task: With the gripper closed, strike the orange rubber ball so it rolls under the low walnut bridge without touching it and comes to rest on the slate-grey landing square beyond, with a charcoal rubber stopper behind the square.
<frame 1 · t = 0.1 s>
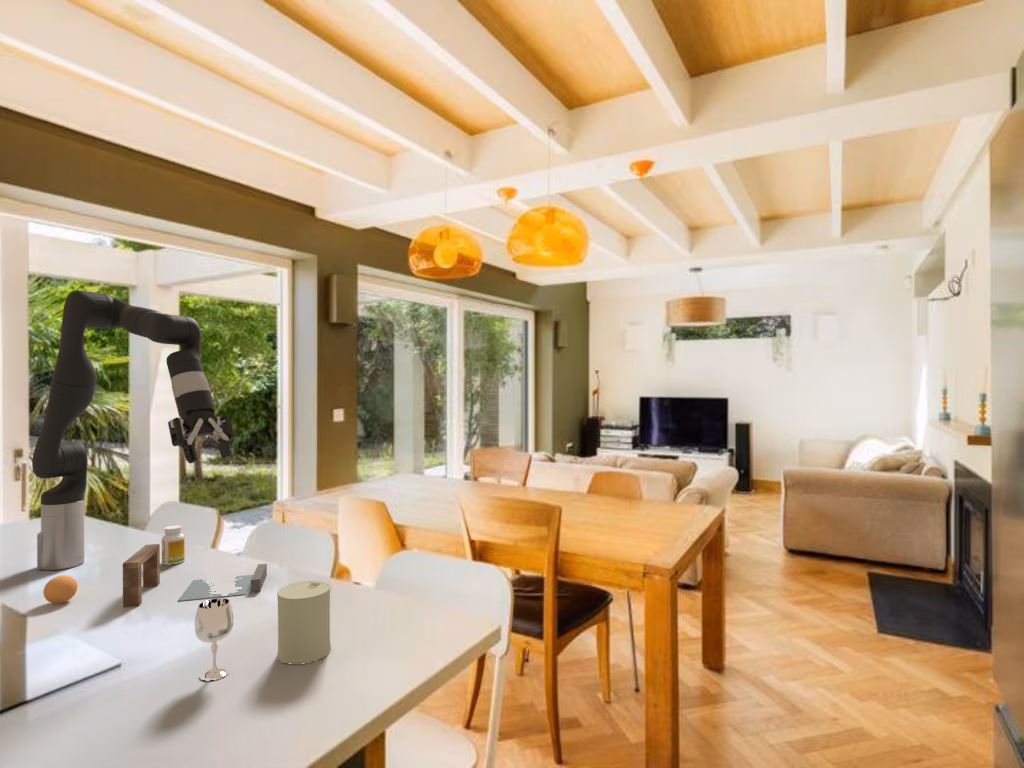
hand: (210, 459, 131), 31 cm above the table, tool tilted 20°, fingers open, 8 cm apart
supplement bottle: (173, 563, 156), on the table
can: (304, 653, 103), on the table
bridge: (142, 594, 132), on the table
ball: (60, 589, 127), on the table
stopper: (259, 583, 139), on the table
wineglass: (214, 675, 95), on the table
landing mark: (218, 587, 136), on the table
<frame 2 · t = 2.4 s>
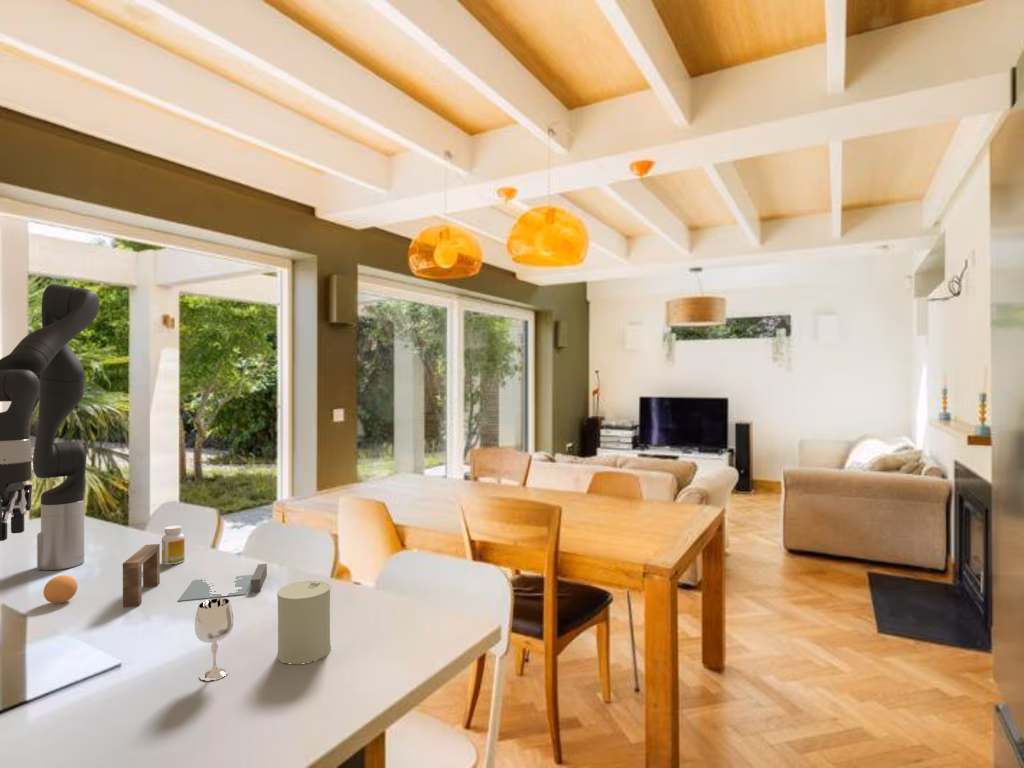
hand: (9, 536, 124), 16 cm above the table, tool pointing down, fingers open, 6 cm apart
nothing on the table moved.
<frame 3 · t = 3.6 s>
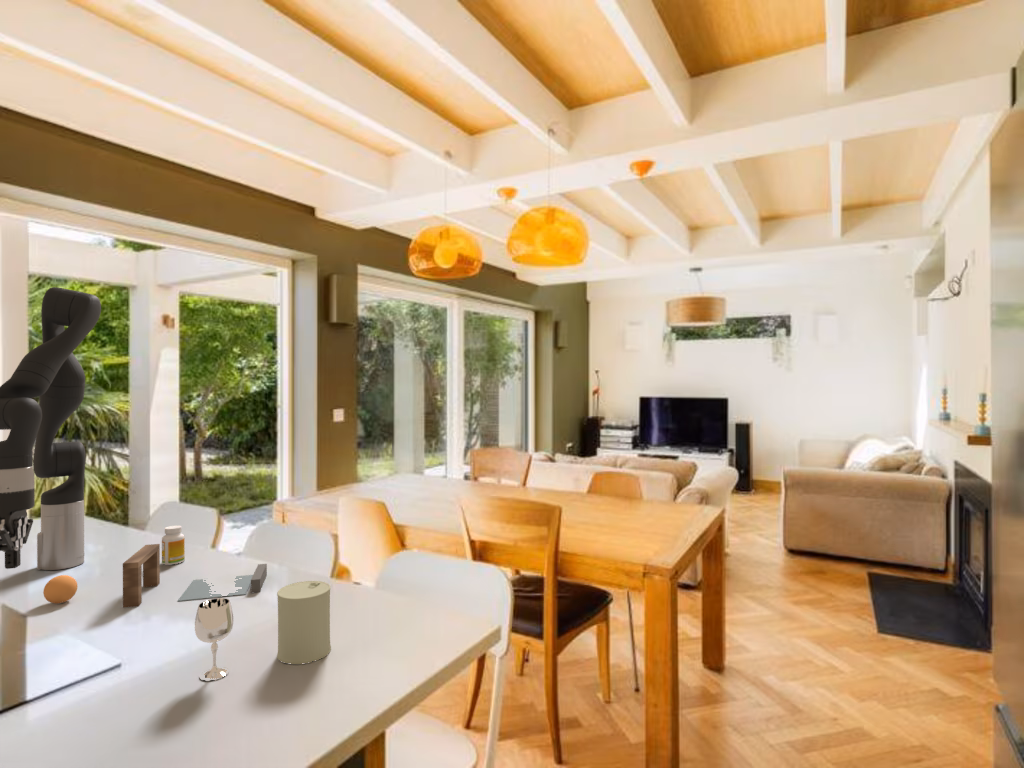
hand: (12, 567, 124), 9 cm above the table, tool pointing down, fingers closed
nothing on the table moved.
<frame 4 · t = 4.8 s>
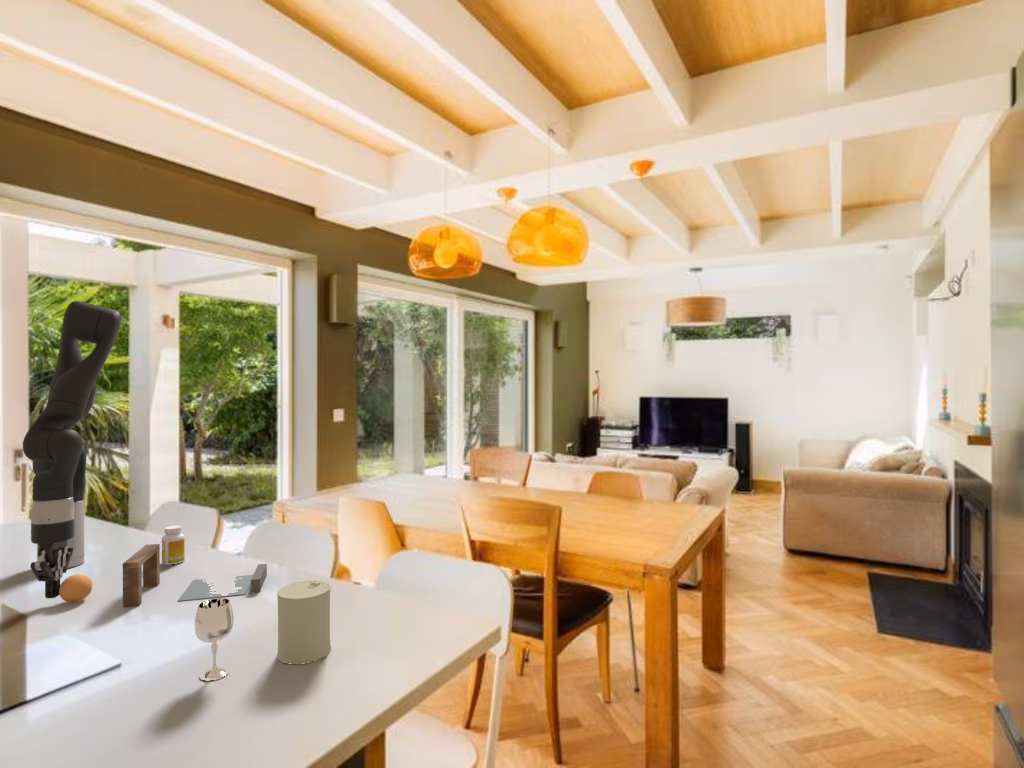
hand: (52, 596, 126), 2 cm above the table, tool pointing down, fingers closed
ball: (76, 588, 128), on the table
everything else where it was.
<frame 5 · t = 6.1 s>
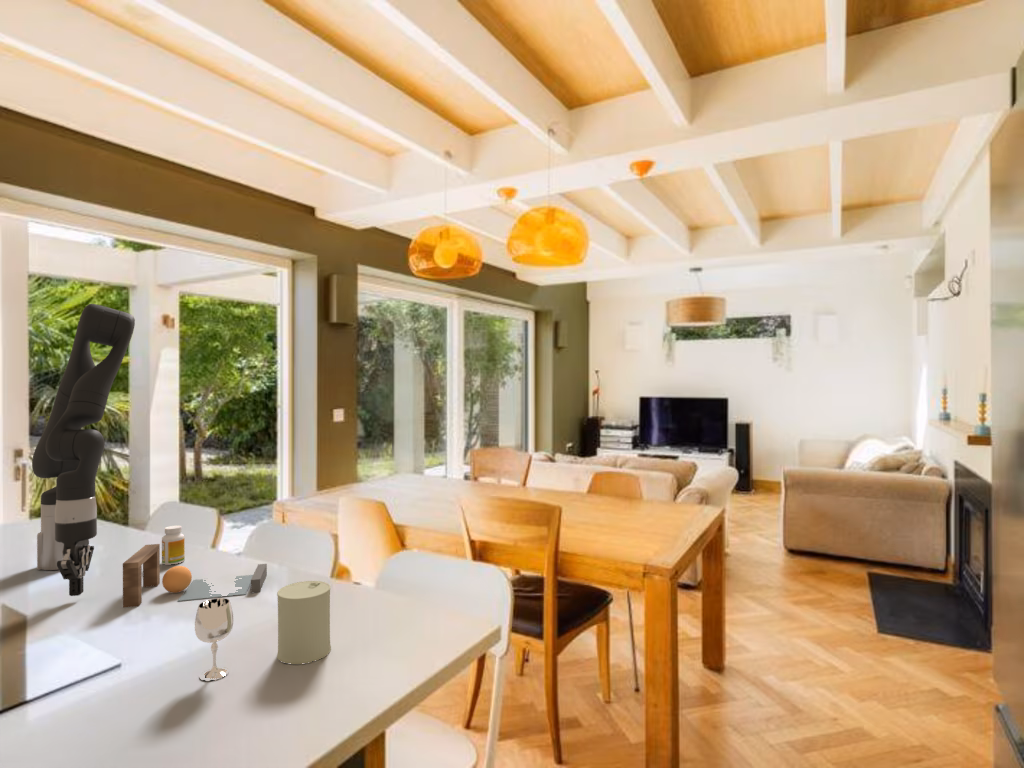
hand: (76, 594, 128), 1 cm above the table, tool pointing down, fingers closed
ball: (177, 579, 134), on the table
everything else where it was.
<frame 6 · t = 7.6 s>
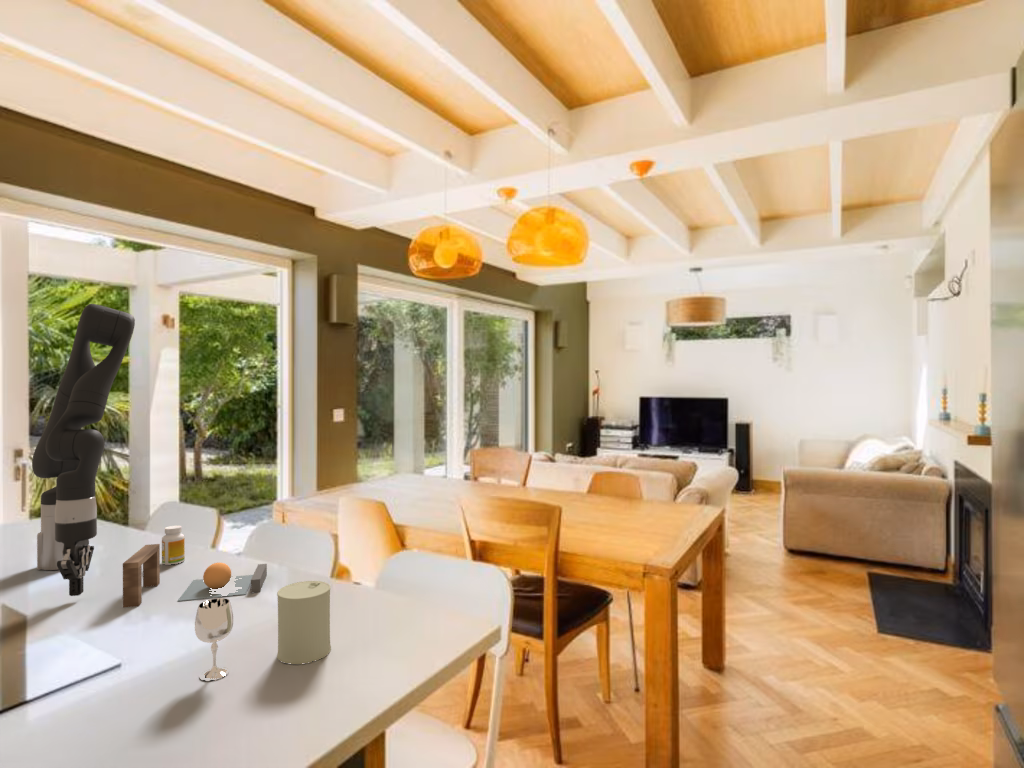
hand: (76, 594, 128), 1 cm above the table, tool pointing down, fingers closed
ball: (217, 575, 136), on the table
everything else where it was.
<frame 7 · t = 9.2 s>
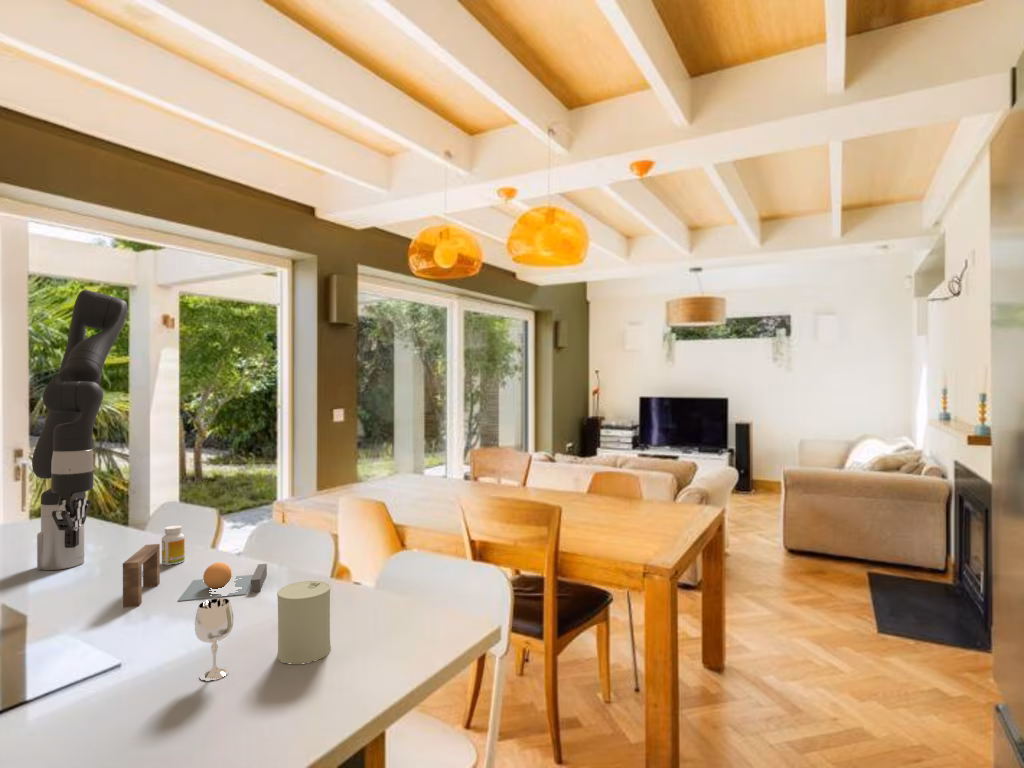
hand: (71, 546, 128), 12 cm above the table, tool pointing down, fingers closed
nothing on the table moved.
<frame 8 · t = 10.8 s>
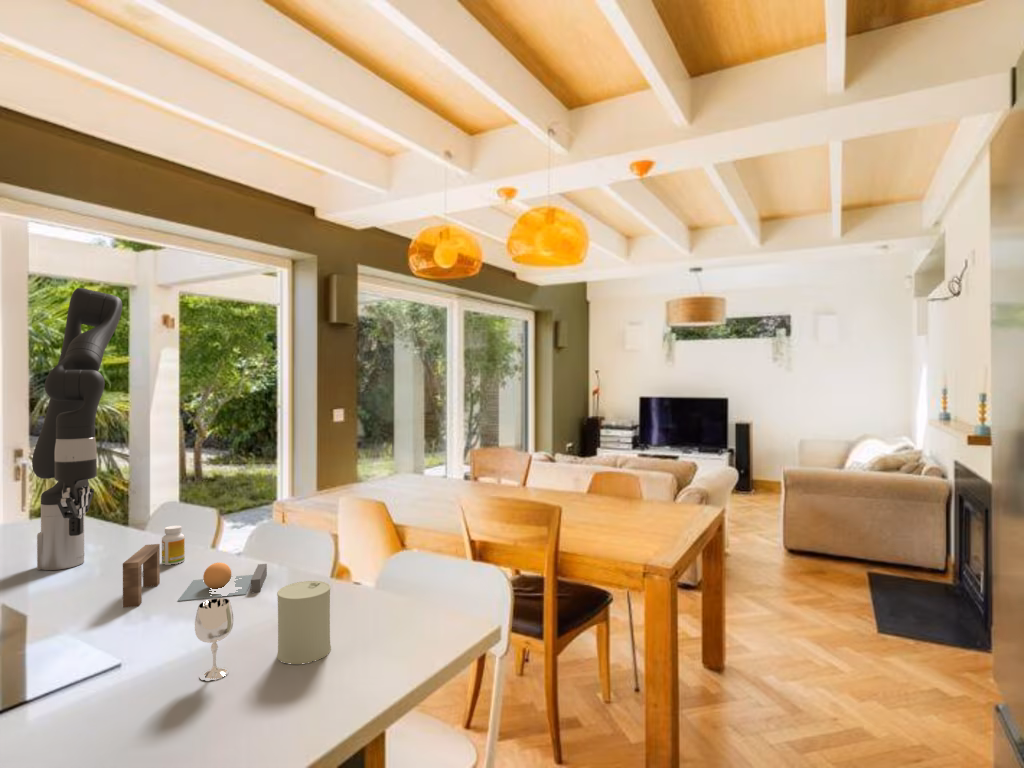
hand: (76, 534, 128), 15 cm above the table, tool pointing down, fingers closed
nothing on the table moved.
at the end: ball 0.3 cm from the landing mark (horizontally); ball never touched bridge; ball at rest at the end (0.0 cm/s) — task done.
